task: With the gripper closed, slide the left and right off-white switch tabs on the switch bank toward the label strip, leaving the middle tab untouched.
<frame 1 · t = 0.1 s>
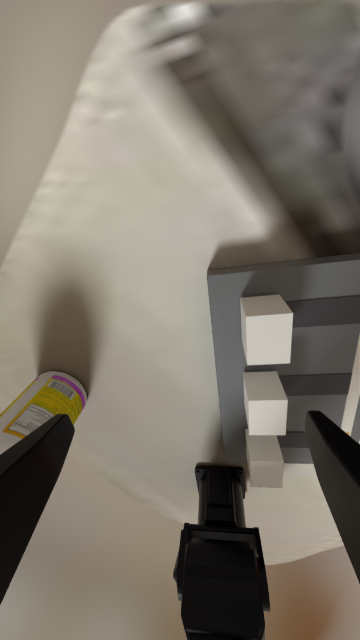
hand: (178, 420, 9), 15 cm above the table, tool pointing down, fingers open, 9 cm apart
tab middle: (263, 402, 22), point 4 cm above the table, slide at 0.0 cm
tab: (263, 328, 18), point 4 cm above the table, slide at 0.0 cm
supplement bottle: (64, 389, 30), on the table
switch bank: (286, 372, 25), on the table
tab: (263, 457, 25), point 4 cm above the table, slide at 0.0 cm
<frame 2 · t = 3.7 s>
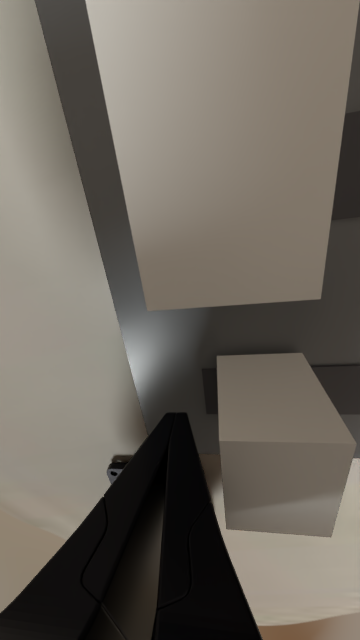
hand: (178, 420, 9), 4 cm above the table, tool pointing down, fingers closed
tab middle: (219, 184, 5), point 4 cm above the table, slide at 0.0 cm
switch bank: (305, 179, 8), on the table
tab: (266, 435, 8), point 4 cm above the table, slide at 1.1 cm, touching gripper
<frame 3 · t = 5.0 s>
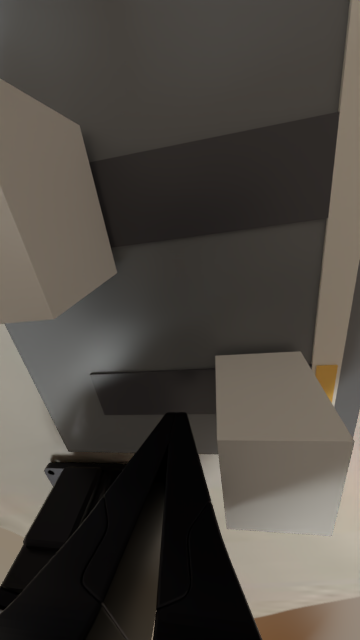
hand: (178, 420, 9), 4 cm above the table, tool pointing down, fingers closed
tab middle: (12, 218, 6), point 4 cm above the table, slide at 0.0 cm
switch bank: (163, 200, 9), on the table
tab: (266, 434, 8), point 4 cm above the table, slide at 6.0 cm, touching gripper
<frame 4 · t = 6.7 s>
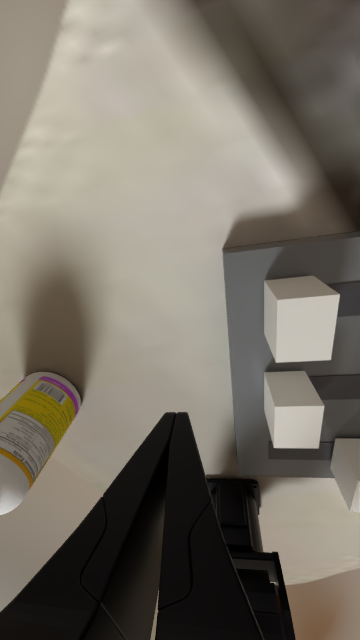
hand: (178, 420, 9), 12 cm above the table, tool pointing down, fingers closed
tab middle: (289, 408, 18), point 4 cm above the table, slide at 0.0 cm
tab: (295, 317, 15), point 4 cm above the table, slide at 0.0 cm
supplement bottle: (55, 392, 26), on the table
switch bank: (312, 372, 21), on the table
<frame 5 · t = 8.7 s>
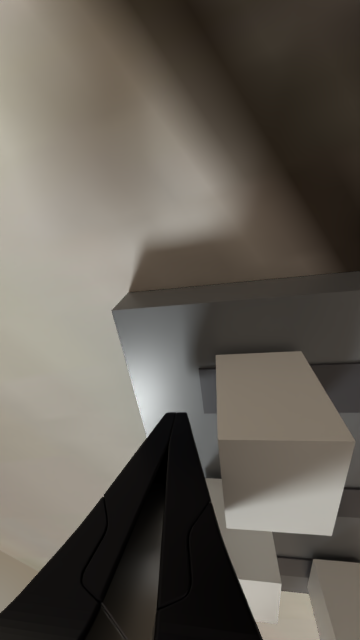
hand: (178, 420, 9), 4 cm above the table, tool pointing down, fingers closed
tab middle: (236, 544, 11), point 4 cm above the table, slide at 0.0 cm
switch bank: (280, 462, 14), on the table
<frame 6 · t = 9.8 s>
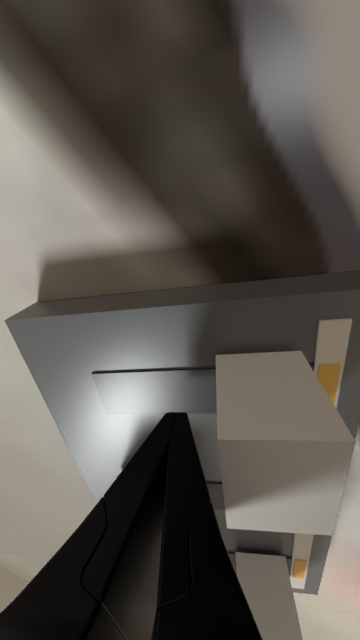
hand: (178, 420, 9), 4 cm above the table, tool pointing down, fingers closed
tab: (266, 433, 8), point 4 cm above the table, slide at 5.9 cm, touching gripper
switch bank: (204, 460, 15), on the table
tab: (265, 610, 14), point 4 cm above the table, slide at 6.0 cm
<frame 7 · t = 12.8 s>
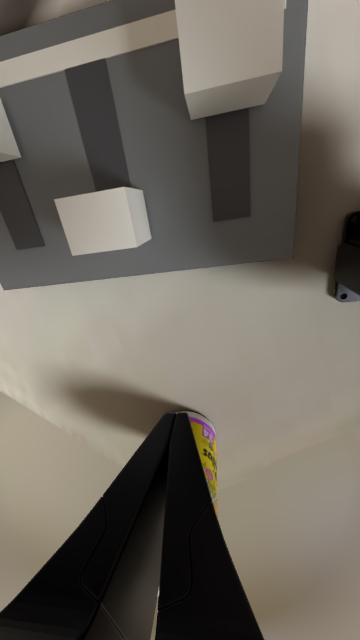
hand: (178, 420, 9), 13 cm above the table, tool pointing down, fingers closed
tab middle: (109, 221, 15), point 4 cm above the table, slide at 0.0 cm
supplement bottle: (187, 427, 28), on the table
switch bank: (119, 172, 17), on the table
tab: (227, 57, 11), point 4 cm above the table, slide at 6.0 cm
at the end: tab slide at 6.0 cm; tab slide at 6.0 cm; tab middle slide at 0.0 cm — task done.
